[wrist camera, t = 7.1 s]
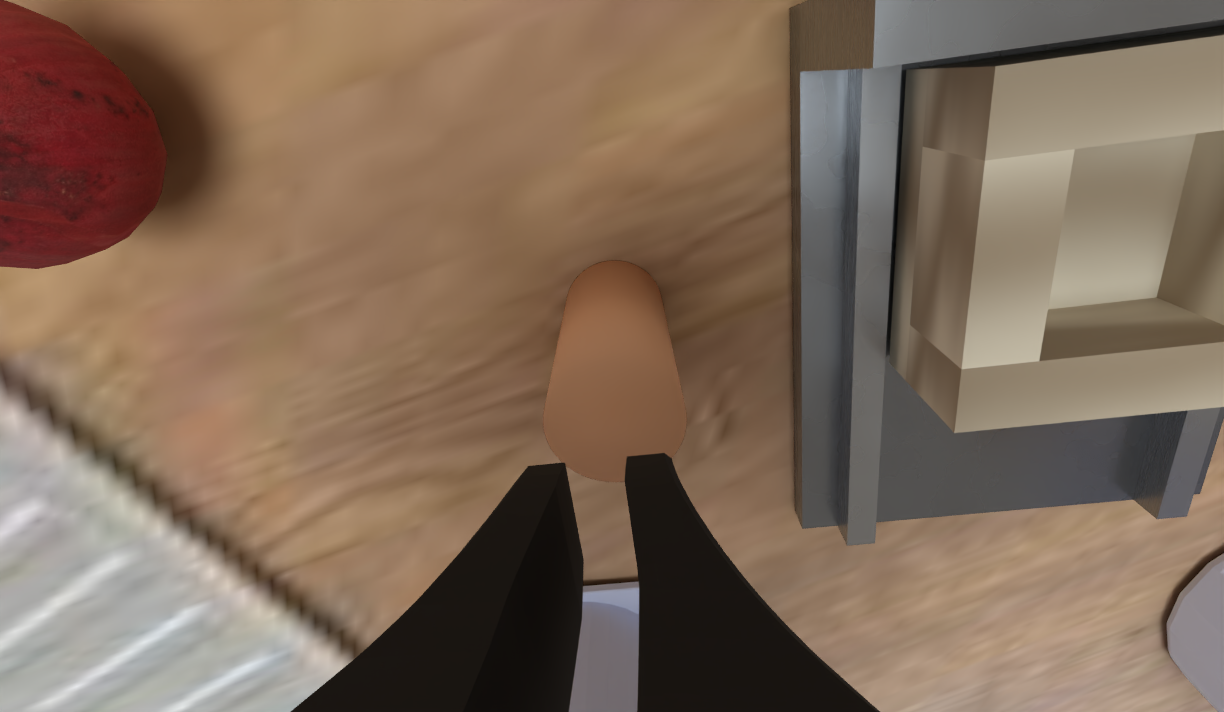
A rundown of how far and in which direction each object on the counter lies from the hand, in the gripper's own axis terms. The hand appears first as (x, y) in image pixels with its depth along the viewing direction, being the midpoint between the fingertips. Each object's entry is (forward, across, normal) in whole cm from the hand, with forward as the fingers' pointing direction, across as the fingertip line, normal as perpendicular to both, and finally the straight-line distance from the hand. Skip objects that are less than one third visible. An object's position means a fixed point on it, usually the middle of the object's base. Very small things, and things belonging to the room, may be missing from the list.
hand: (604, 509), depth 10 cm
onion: (+10, +13, -7) cm, 18 cm away
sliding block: (+9, -12, -2) cm, 15 cm away
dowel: (+10, 0, 0) cm, 10 cm away
